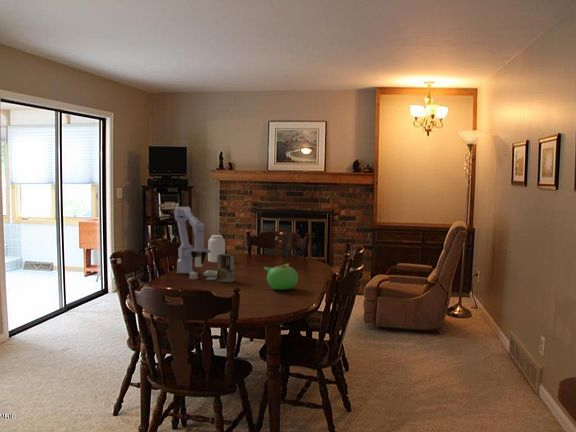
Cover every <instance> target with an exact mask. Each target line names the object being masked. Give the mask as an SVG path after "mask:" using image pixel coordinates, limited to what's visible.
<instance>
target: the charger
mask: <svg viewBox="0 0 576 432" xmlns="http://www.w3.org/2000/svg"><path fill="white" fill-rule="evenodd" d="M203 265H204V263H203V264H201V256H196V257H195V264H194V267H195V268H196V267H197V268H202V267H203Z"/></svg>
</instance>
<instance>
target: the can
mask: <svg viewBox="0 0 576 432" xmlns="http://www.w3.org/2000/svg"><path fill="white" fill-rule="evenodd" d="M207 243H208V244H207V246H208V247H207V249H209V250H210V253H207V261H208V262H210V263H214V264H215V263H216V264H217V256H218V255H220V254H226V240H225V239H224V237H223V235H222V234H211V236H210V238H209V239H208V242H207Z"/></svg>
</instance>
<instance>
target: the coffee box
mask: <svg viewBox="0 0 576 432" xmlns="http://www.w3.org/2000/svg"><path fill="white" fill-rule="evenodd" d="M216 266H217V267H216V268H217V270H216V271H217V279H216V281H217V282H221V283H232V282H234V281H235V254H228V253H227V254H226V253H225V254H220V255H218V256H217V263H216Z"/></svg>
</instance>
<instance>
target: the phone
mask: <svg viewBox="0 0 576 432" xmlns="http://www.w3.org/2000/svg"><path fill="white" fill-rule="evenodd" d="M204 281H210V282H212V281H213V282H215V281H217V277H216V276H206V278H204Z"/></svg>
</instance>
